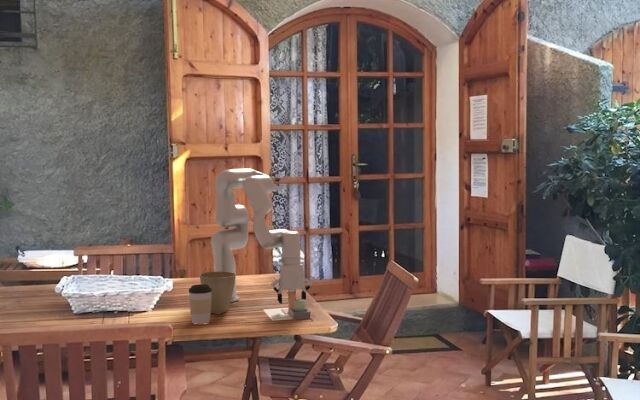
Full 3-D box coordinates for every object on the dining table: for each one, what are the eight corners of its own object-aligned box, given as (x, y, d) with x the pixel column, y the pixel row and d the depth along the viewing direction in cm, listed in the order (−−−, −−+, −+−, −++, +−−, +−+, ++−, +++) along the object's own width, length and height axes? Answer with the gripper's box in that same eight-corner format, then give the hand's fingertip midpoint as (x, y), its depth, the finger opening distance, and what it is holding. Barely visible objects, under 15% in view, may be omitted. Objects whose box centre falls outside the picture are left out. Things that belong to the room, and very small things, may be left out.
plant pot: (207, 317, 301) (206, 278, 300) (195, 310, 314) (194, 273, 313) (241, 313, 308) (241, 275, 307) (229, 306, 321) (228, 270, 320)
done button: (295, 314, 296) (295, 301, 296) (293, 311, 300) (293, 299, 300) (306, 313, 297) (306, 301, 297) (303, 311, 302) (303, 298, 301)
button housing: (293, 318, 295) (293, 312, 295) (289, 315, 301) (289, 309, 301) (310, 317, 297) (310, 311, 296) (306, 313, 303) (306, 307, 303)
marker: (289, 312, 306) (288, 285, 305) (287, 310, 309) (287, 284, 308) (297, 311, 307) (296, 285, 306) (295, 309, 310) (294, 283, 309)
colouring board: (272, 322, 293) (272, 320, 293) (262, 311, 312) (262, 309, 312) (311, 319, 297) (311, 317, 297) (300, 308, 316) (300, 306, 316)
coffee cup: (190, 320, 297) (189, 283, 296) (213, 319, 298) (212, 282, 297) (188, 325, 288) (187, 287, 287) (212, 324, 289) (211, 286, 288)
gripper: (272, 263, 300) (273, 305, 302) (314, 261, 305) (314, 302, 306) (268, 260, 308) (269, 301, 309) (309, 258, 312) (309, 299, 314)
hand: (291, 302), depth 308 cm, fingers open, 9 cm apart
